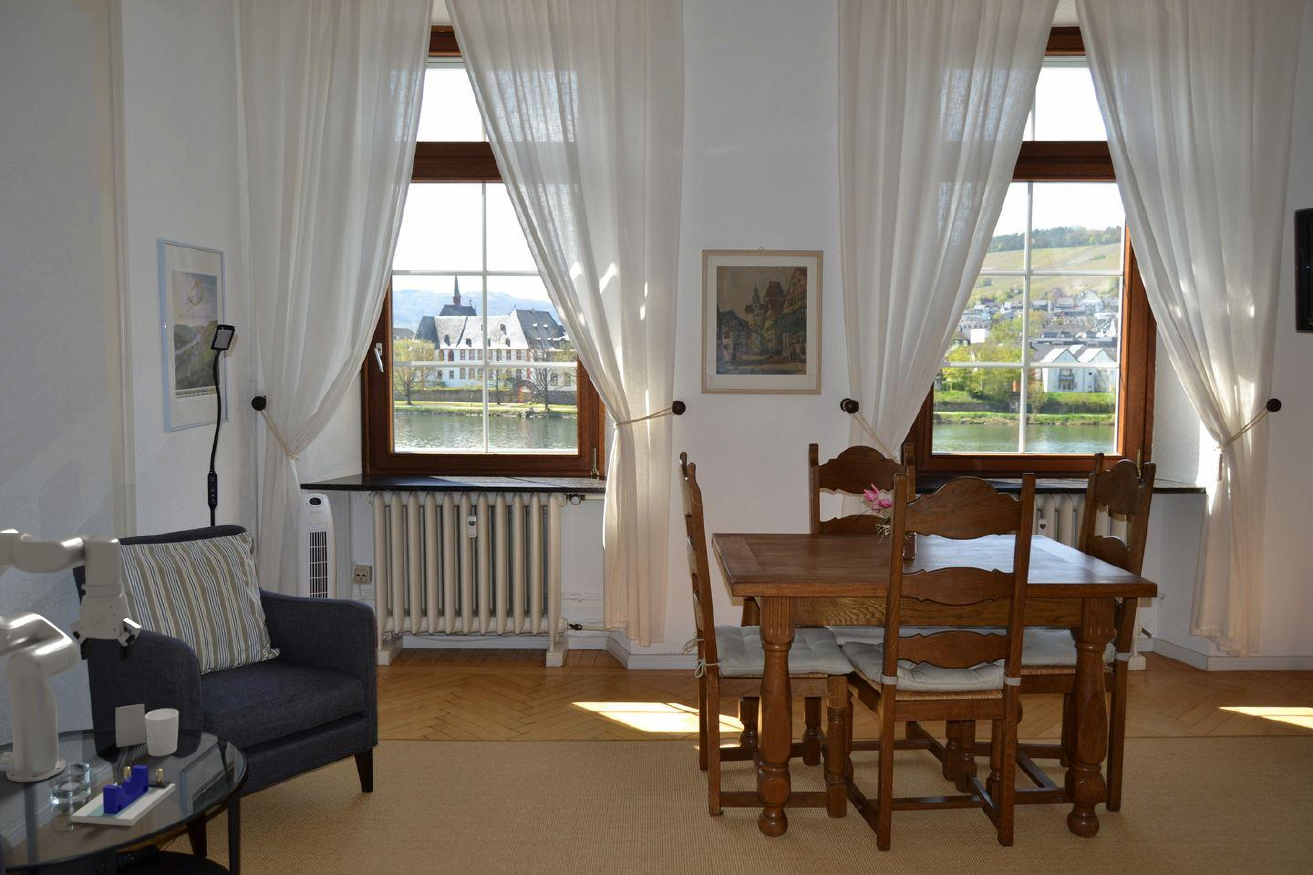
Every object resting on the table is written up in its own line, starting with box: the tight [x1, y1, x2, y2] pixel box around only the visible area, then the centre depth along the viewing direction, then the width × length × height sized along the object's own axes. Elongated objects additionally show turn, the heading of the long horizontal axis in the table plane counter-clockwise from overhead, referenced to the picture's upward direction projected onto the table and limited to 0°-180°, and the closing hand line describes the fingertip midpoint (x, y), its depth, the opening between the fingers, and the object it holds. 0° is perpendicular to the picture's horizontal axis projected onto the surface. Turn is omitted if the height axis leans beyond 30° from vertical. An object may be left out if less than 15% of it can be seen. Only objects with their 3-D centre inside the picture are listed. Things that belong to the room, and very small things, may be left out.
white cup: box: [145, 708, 179, 757], centre depth 269 cm, size 8×8×10 cm
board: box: [70, 781, 176, 827], centre depth 239 cm, size 14×18×2 cm
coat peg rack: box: [116, 765, 171, 788], centre depth 247 cm, size 12×2×4 cm, turn 86°
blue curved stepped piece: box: [102, 764, 150, 814], centre depth 237 cm, size 12×4×6 cm, turn 173°
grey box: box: [114, 703, 147, 748], centre depth 274 cm, size 4×7×10 cm, turn 120°
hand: (106, 659), depth 248 cm, fingers open, 9 cm apart
